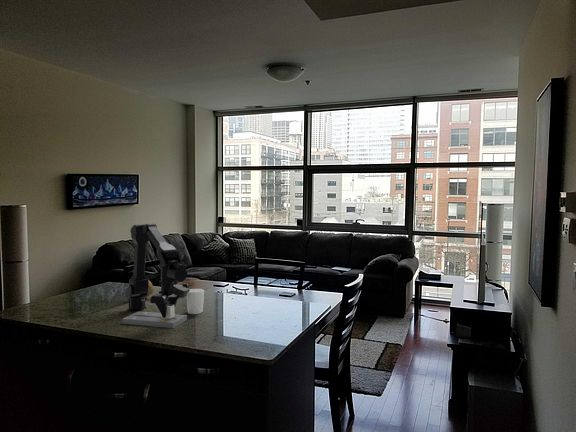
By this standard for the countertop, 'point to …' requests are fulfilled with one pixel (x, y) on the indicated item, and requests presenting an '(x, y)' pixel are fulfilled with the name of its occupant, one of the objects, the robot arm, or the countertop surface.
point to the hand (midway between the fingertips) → (168, 315)
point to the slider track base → (153, 319)
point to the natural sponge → (149, 289)
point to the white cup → (195, 301)
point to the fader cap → (170, 311)
